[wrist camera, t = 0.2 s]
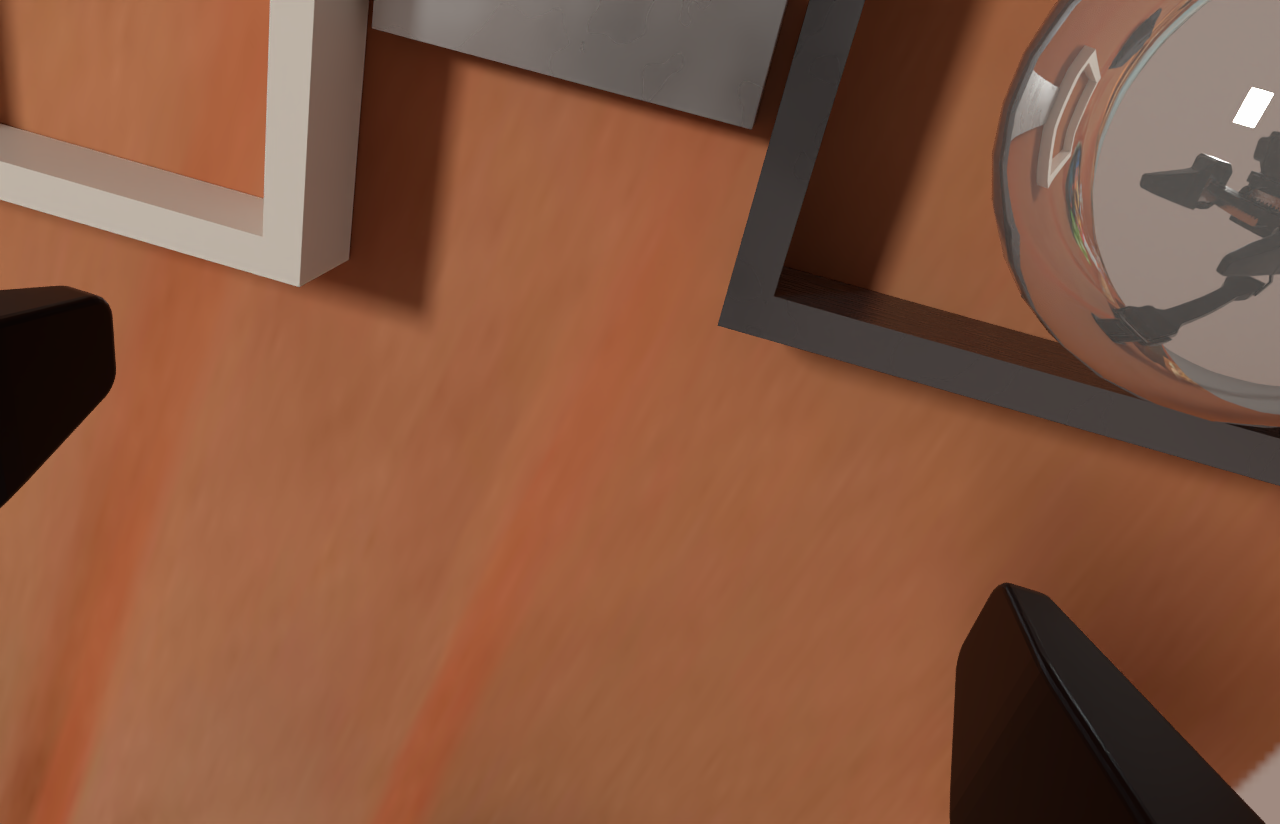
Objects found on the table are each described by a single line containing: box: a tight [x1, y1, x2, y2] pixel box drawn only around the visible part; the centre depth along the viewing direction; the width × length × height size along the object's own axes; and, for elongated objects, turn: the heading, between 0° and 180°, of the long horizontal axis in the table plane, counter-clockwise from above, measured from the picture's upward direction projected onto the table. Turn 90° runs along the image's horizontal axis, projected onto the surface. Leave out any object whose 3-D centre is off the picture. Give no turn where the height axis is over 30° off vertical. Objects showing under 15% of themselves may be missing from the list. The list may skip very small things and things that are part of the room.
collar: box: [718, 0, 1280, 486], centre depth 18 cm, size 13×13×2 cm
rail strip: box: [372, 0, 788, 130], centre depth 20 cm, size 3×9×1 cm, turn 78°
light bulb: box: [992, 0, 1280, 428], centre depth 14 cm, size 7×7×12 cm
